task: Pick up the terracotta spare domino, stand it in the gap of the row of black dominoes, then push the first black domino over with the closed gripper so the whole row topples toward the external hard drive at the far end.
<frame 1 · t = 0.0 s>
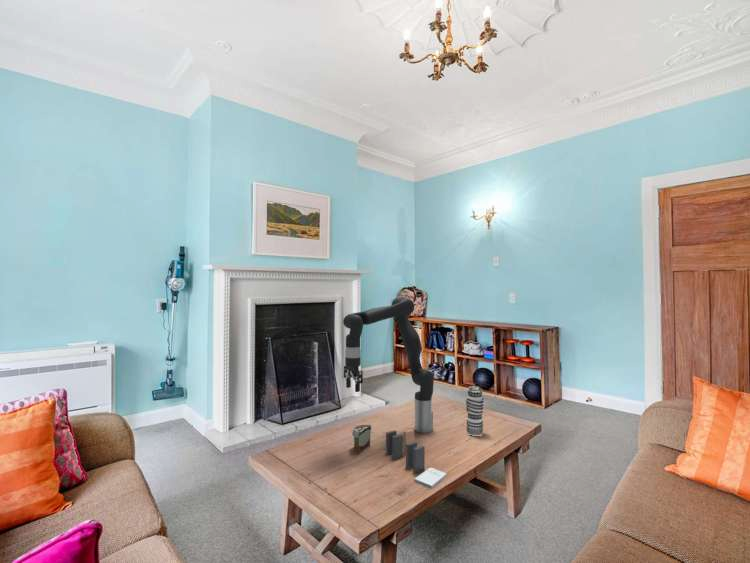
hand: (352, 389, 178), 29 cm above the table, fingers open, 8 cm apart
spare domino: (408, 451, 177), on the table
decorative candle: (474, 434, 198), on the table
domino 5: (418, 470, 159), on the table
domino 1: (391, 453, 175), on the table
domino 4: (411, 466, 163), on the table
food container: (359, 448, 180), on the table
domino 2: (397, 457, 171), on the table
external hard drive: (430, 480, 153), on the table
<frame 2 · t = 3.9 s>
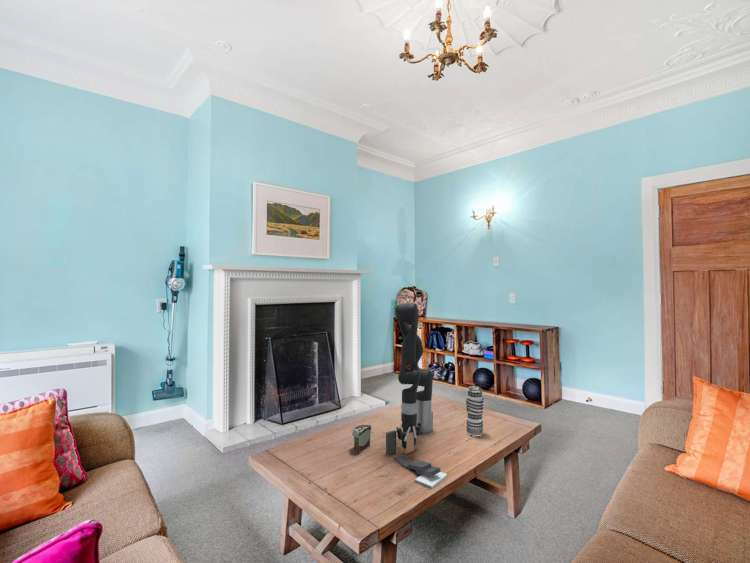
hand: (408, 446, 177), 2 cm above the table, fingers closed on spare domino, 5 cm apart
spare domino: (408, 451, 177), on the table, touching gripper
domino 5: (419, 469, 158), point 1 cm above the table, tilted 73°, touching domino 4
domino 4: (412, 464, 162), point 1 cm above the table, tilted 74°, touching domino 5
domino 2: (398, 457, 170), on the table, tilted 90°
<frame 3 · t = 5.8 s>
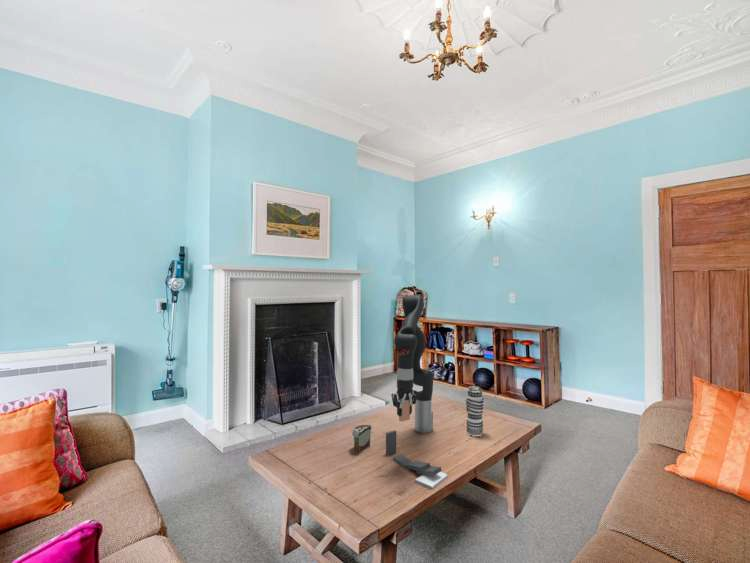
hand: (404, 414, 169), 20 cm above the table, fingers closed on spare domino, 5 cm apart
spare domino: (404, 420, 169), point 18 cm above the table, touching gripper
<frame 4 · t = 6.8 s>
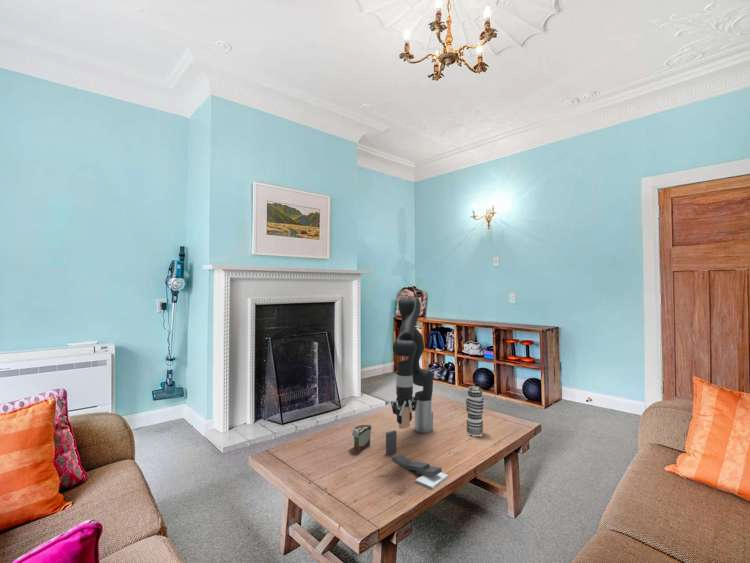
hand: (404, 421, 167), 18 cm above the table, fingers closed on spare domino, 5 cm apart
spare domino: (404, 427, 167), point 15 cm above the table, touching gripper
domino 5: (420, 469, 158), point 1 cm above the table, tilted 73°, touching domino 4, external hard drive
domino 4: (410, 464, 162), point 1 cm above the table, tilted 74°, touching domino 5
external hard drive: (431, 481, 152), on the table, touching domino 5
everything else where it was.
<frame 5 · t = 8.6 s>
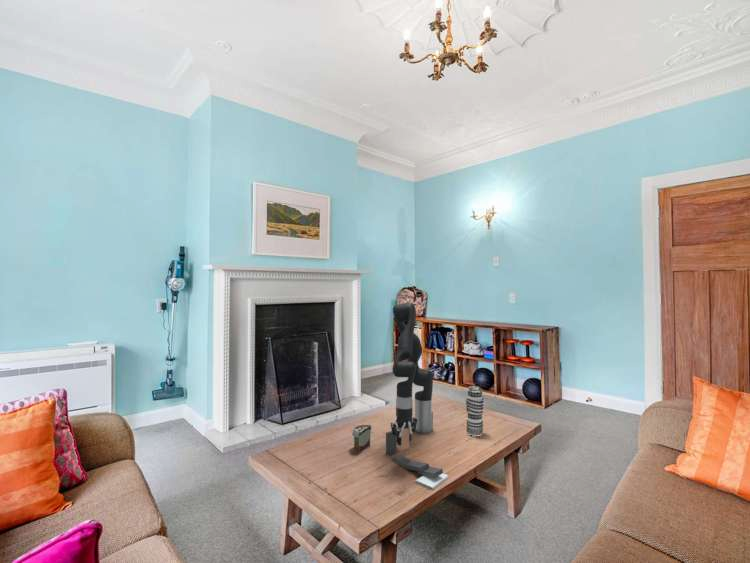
hand: (404, 443, 167), 8 cm above the table, fingers closed on spare domino, 5 cm apart
spare domino: (404, 448, 167), point 6 cm above the table, touching gripper
domino 5: (421, 469, 157), point 1 cm above the table, tilted 77°
domino 4: (410, 464, 162), point 1 cm above the table, tilted 74°
external hard drive: (432, 481, 151), on the table
everything else where it was.
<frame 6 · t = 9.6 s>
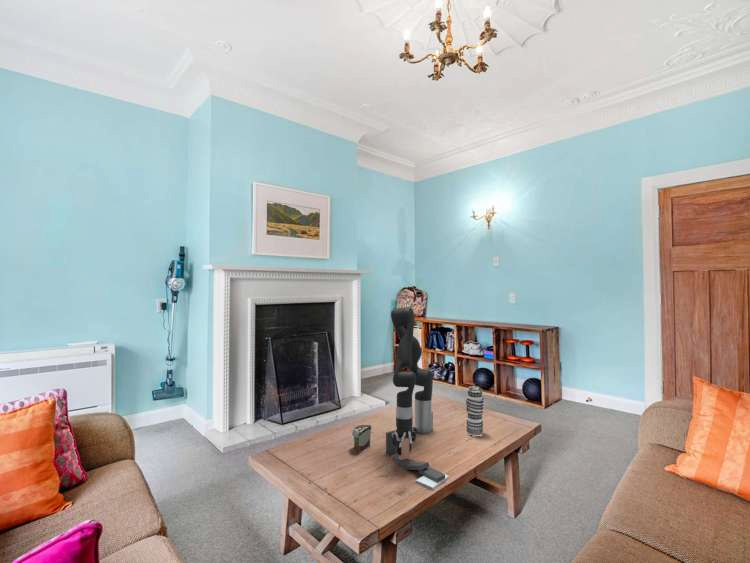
hand: (404, 453, 167), 4 cm above the table, fingers closed on spare domino, 5 cm apart
spare domino: (404, 458, 167), point 1 cm above the table, touching gripper
domino 5: (422, 469, 157), point 2 cm above the table, tilted 90°, touching external hard drive
external hard drive: (432, 482, 151), on the table, touching domino 5
everything else where it was.
when the fingers open (3 cm above the table, at t = 10.5 s): spare domino stays where it is, resting on domino 2.
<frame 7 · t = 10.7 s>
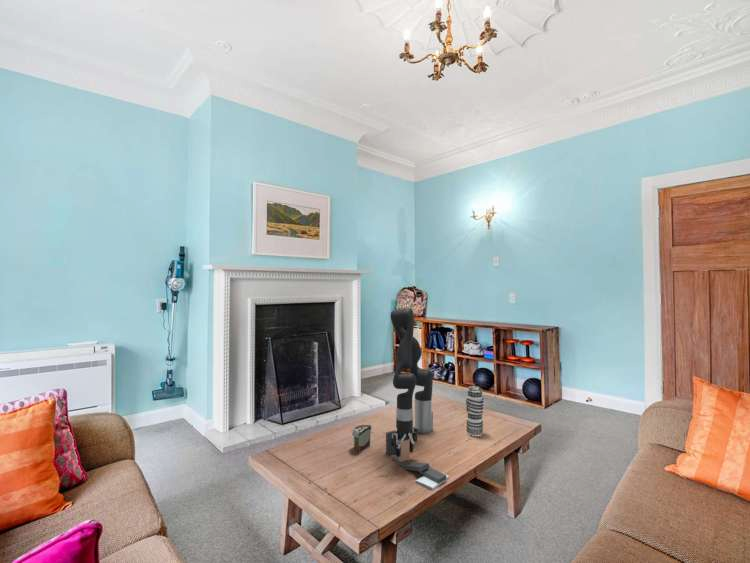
hand: (404, 453, 167), 3 cm above the table, fingers open, 7 cm apart
spare domino: (404, 459, 167), point 1 cm above the table, touching domino 2
domino 5: (423, 469, 156), point 2 cm above the table, tilted 90°, touching domino 4, external hard drive
domino 4: (410, 465, 161), point 1 cm above the table, tilted 71°, touching domino 5
domino 2: (396, 458, 170), on the table, tilted 90°, touching spare domino
everything else where it was.
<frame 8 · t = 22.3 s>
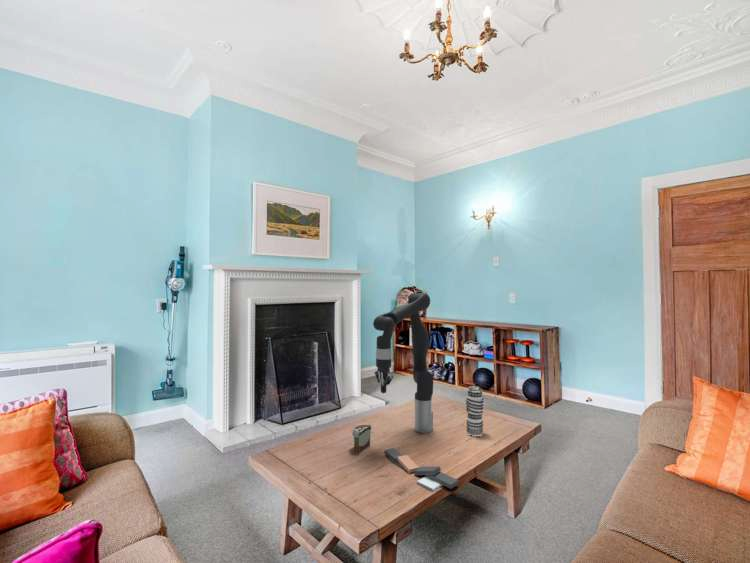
hand: (383, 392, 181), 27 cm above the table, fingers closed
spare domino: (401, 457, 166), point 2 cm above the table, tilted 97°
domino 5: (434, 474, 152), point 2 cm above the table, tilted 90°, touching external hard drive
domino 1: (388, 450, 175), point 1 cm above the table, tilted 90°, touching domino 2
domino 4: (417, 470, 157), point 1 cm above the table, tilted 71°
domino 2: (393, 457, 171), on the table, tilted 90°, touching domino 1
external hard drive: (434, 483, 150), on the table, touching domino 5
everything else where it was.
at the end: spare domino inside the target area (2.1 cm from its centre), point 2.0 cm above the table; spare domino tilted 96°; domino 5 tilted 90° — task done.
